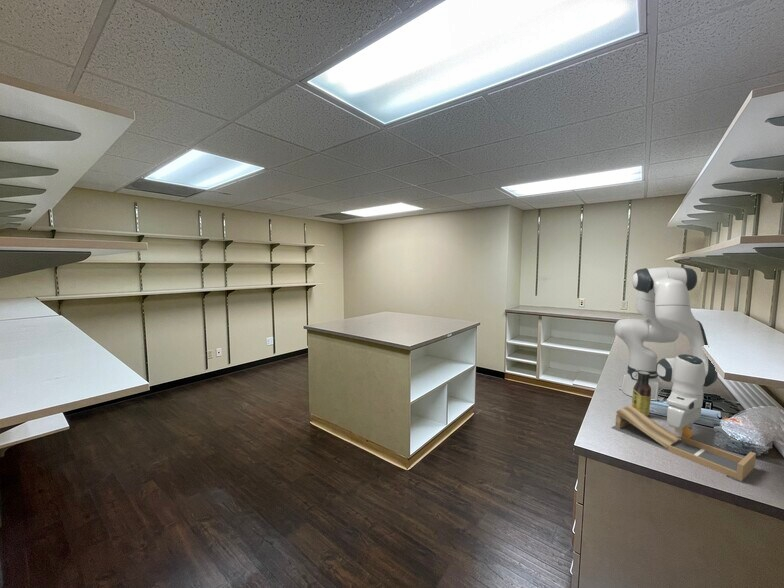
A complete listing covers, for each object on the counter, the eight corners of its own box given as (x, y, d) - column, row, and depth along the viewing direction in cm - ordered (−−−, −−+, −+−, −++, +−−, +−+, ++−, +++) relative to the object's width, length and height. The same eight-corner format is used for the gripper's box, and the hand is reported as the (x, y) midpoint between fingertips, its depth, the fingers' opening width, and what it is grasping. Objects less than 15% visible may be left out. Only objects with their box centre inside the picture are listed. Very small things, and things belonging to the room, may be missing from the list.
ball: (677, 433, 126) (678, 421, 125) (694, 439, 122) (695, 427, 121) (671, 436, 123) (673, 424, 123) (688, 443, 119) (690, 430, 119)
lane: (626, 420, 136) (627, 408, 135) (755, 469, 104) (757, 453, 103) (610, 428, 129) (611, 415, 129) (742, 482, 97) (744, 466, 97)
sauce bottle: (630, 411, 145) (634, 368, 143) (648, 415, 141) (652, 371, 140) (631, 416, 140) (634, 372, 138) (649, 420, 136) (653, 375, 134)
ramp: (626, 421, 134) (628, 404, 134) (679, 441, 119) (681, 422, 119) (614, 427, 129) (615, 410, 129) (668, 449, 114) (670, 429, 114)
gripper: (687, 390, 129) (684, 423, 130) (664, 400, 119) (661, 436, 120) (708, 396, 123) (704, 430, 124) (686, 407, 113) (683, 444, 114)
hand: (683, 433), depth 122 cm, fingers open, 6 cm apart
